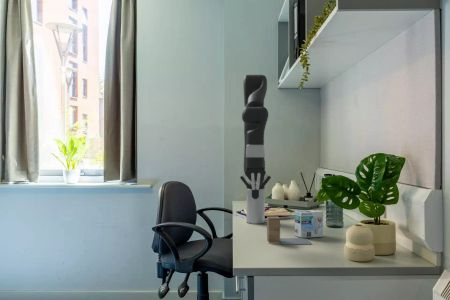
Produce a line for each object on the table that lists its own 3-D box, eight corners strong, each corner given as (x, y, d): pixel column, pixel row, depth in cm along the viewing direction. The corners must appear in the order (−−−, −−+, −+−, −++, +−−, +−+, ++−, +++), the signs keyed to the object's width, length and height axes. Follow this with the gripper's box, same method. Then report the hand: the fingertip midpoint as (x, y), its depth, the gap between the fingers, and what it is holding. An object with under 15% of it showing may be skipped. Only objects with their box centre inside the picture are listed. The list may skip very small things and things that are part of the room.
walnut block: (267, 240, 166) (267, 216, 165) (277, 240, 166) (277, 216, 166) (268, 243, 161) (268, 218, 161) (279, 243, 161) (280, 218, 161)
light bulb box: (301, 238, 169) (300, 212, 169) (294, 235, 175) (293, 210, 176) (324, 236, 171) (323, 211, 172) (316, 234, 178) (316, 209, 178)
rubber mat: (277, 239, 169) (277, 238, 169) (305, 238, 169) (305, 237, 169) (282, 244, 159) (282, 244, 159) (312, 244, 159) (312, 243, 159)
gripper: (269, 156, 167) (269, 197, 167) (238, 156, 166) (238, 197, 166) (273, 156, 159) (272, 200, 159) (239, 156, 159) (239, 200, 159)
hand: (255, 198), depth 163 cm, fingers closed
